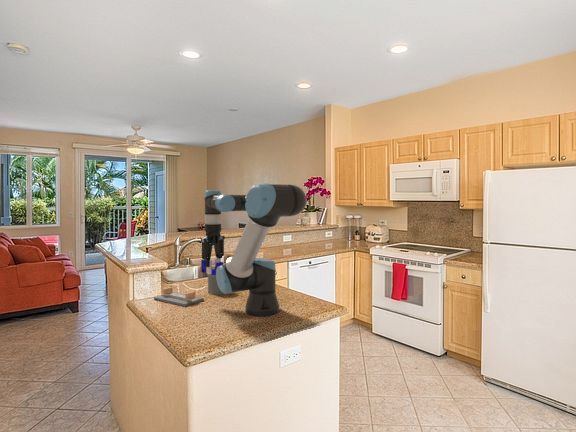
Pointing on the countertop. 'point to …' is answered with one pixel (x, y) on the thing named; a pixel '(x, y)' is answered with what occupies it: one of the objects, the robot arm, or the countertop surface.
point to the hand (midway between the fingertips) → (213, 272)
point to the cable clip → (203, 269)
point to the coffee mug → (213, 285)
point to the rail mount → (178, 297)
